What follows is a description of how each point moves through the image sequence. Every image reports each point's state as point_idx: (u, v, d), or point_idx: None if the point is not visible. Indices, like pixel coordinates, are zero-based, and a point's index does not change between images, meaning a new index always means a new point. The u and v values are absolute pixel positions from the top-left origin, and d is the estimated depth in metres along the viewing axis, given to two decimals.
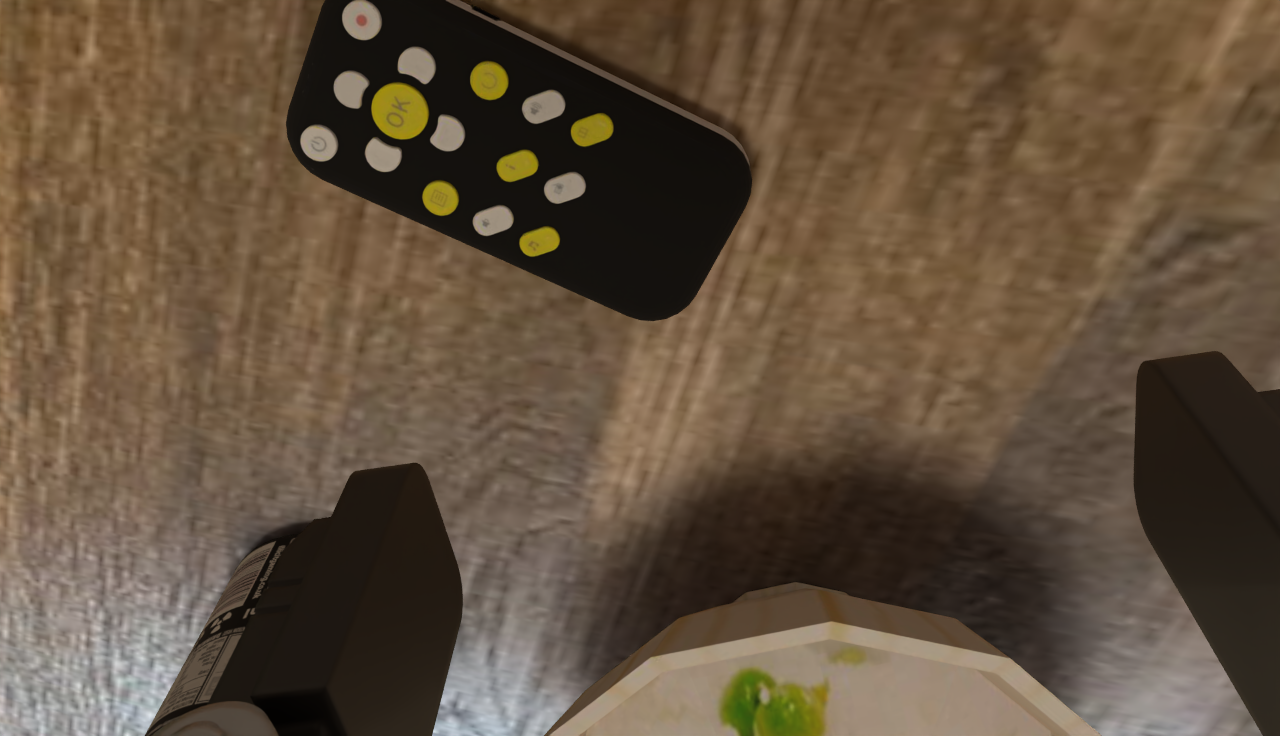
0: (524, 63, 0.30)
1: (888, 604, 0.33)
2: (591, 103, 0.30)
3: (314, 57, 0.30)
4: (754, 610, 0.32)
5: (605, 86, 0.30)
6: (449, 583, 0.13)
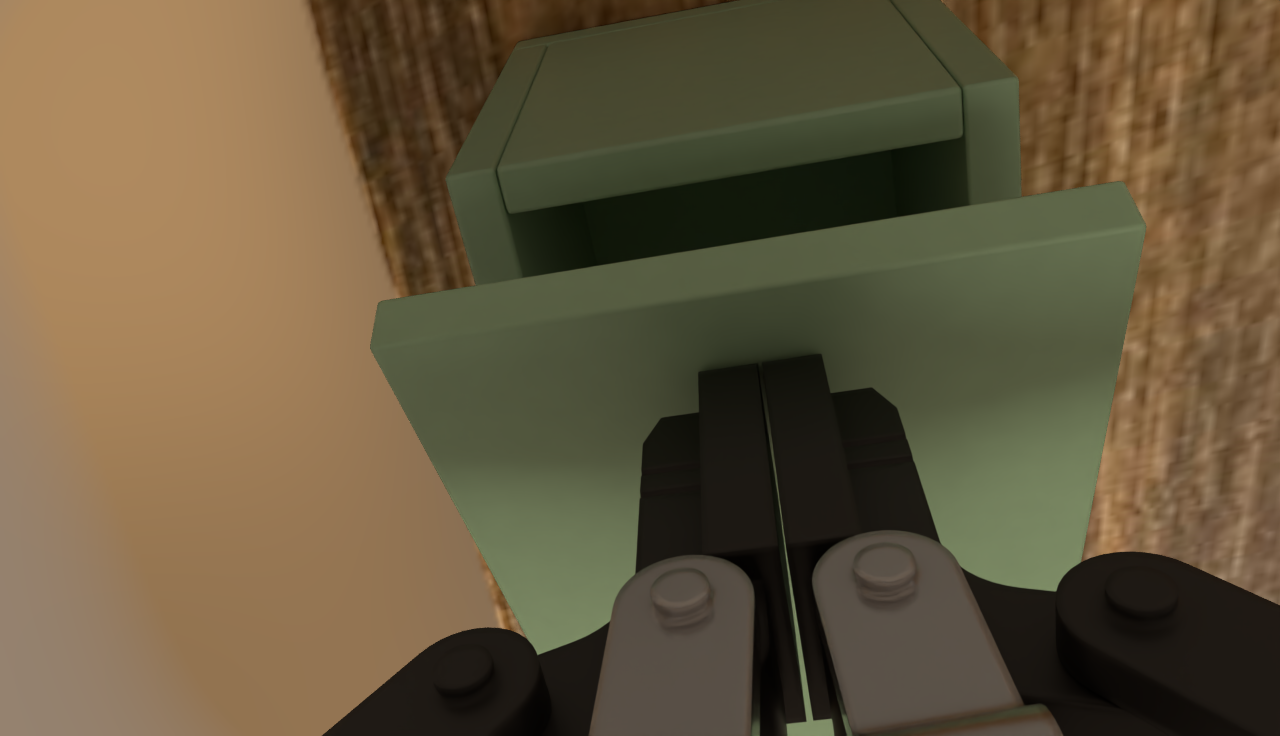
0: None
1: None
2: None
3: None
4: None
5: None
6: (775, 483, 0.14)
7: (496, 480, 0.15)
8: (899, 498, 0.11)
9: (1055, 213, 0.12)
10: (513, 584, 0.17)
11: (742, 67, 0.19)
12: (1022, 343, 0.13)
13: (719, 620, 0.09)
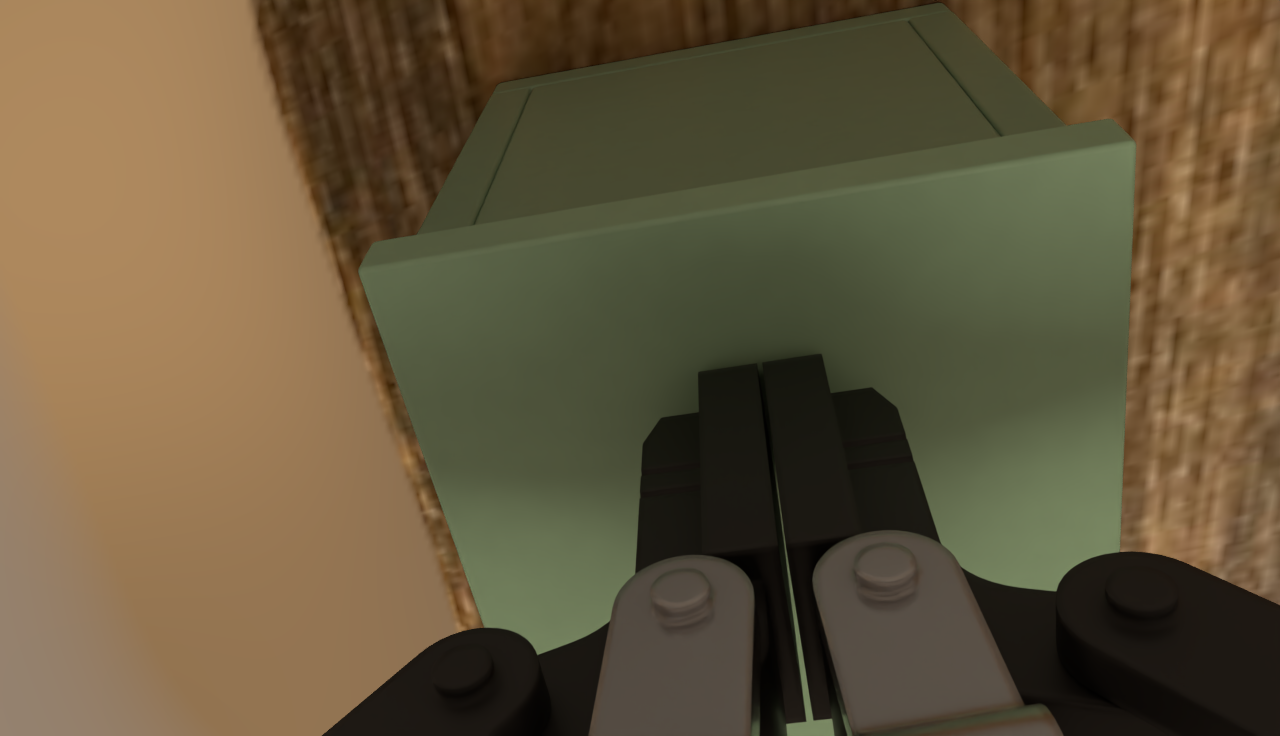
0: None
1: None
2: None
3: None
4: None
5: None
6: (775, 483, 0.14)
7: (479, 455, 0.14)
8: (900, 498, 0.11)
9: (1043, 141, 0.12)
10: (494, 608, 0.15)
11: (755, 127, 0.16)
12: (1022, 290, 0.13)
13: (719, 621, 0.09)
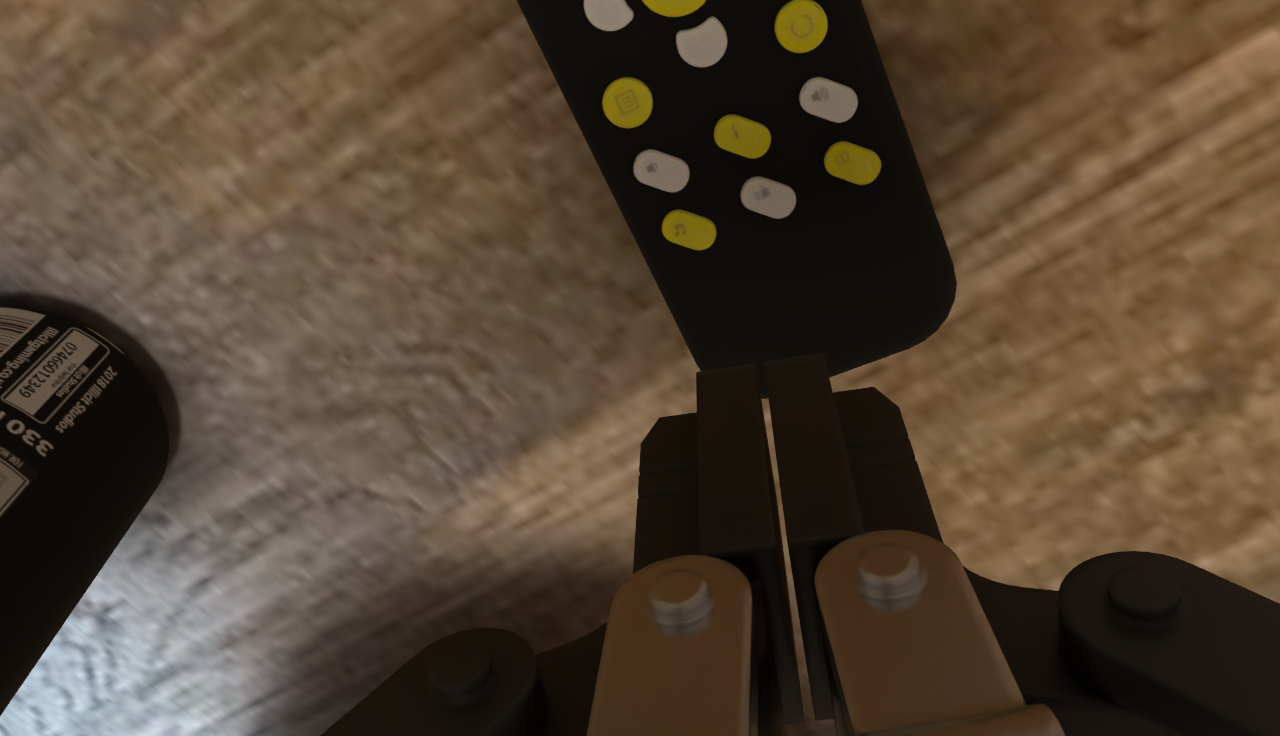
0: (851, 39, 0.22)
1: None
2: (876, 136, 0.23)
3: None
4: None
5: (900, 129, 0.23)
6: (773, 484, 0.14)
7: None
8: (901, 498, 0.11)
9: None
10: None
11: None
12: None
13: (717, 620, 0.09)
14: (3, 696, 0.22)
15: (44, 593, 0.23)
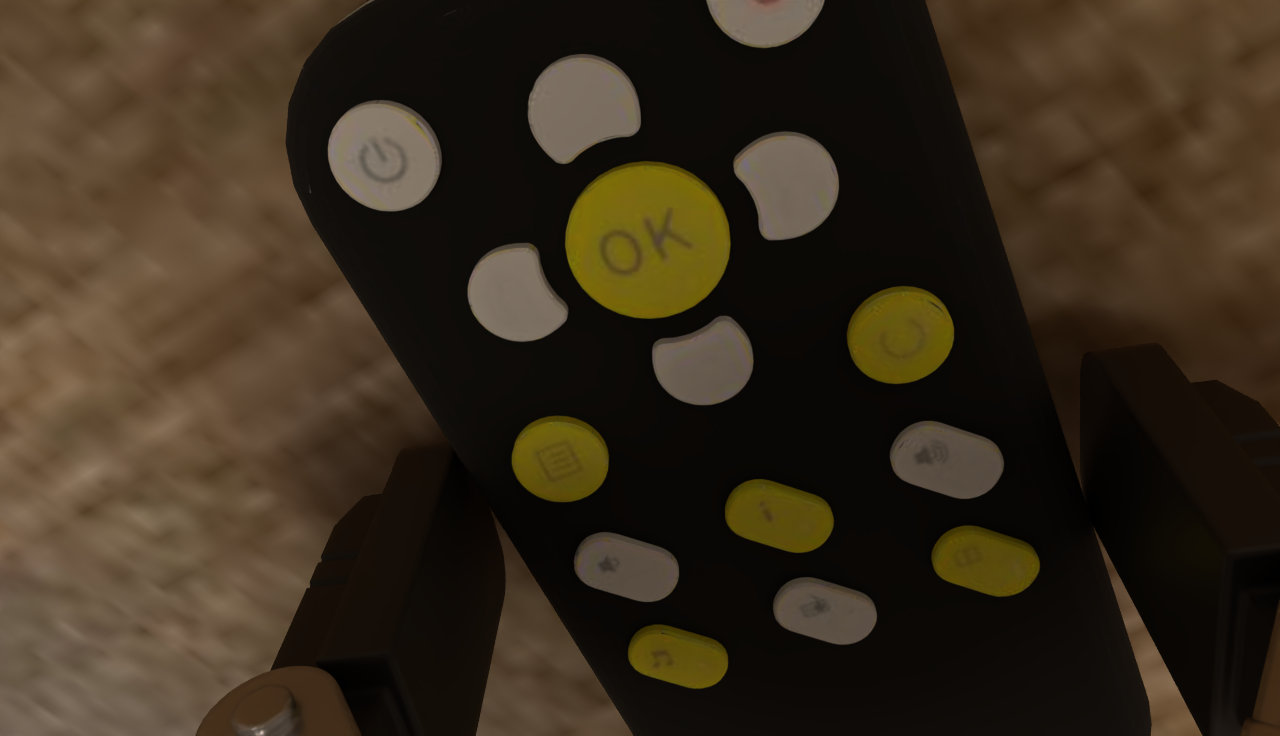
0: (996, 356, 0.11)
1: None
2: (1034, 518, 0.12)
3: None
4: None
5: (1076, 498, 0.12)
6: (493, 560, 0.13)
7: None
8: None
9: None
10: None
11: None
12: None
13: None
14: None
15: None
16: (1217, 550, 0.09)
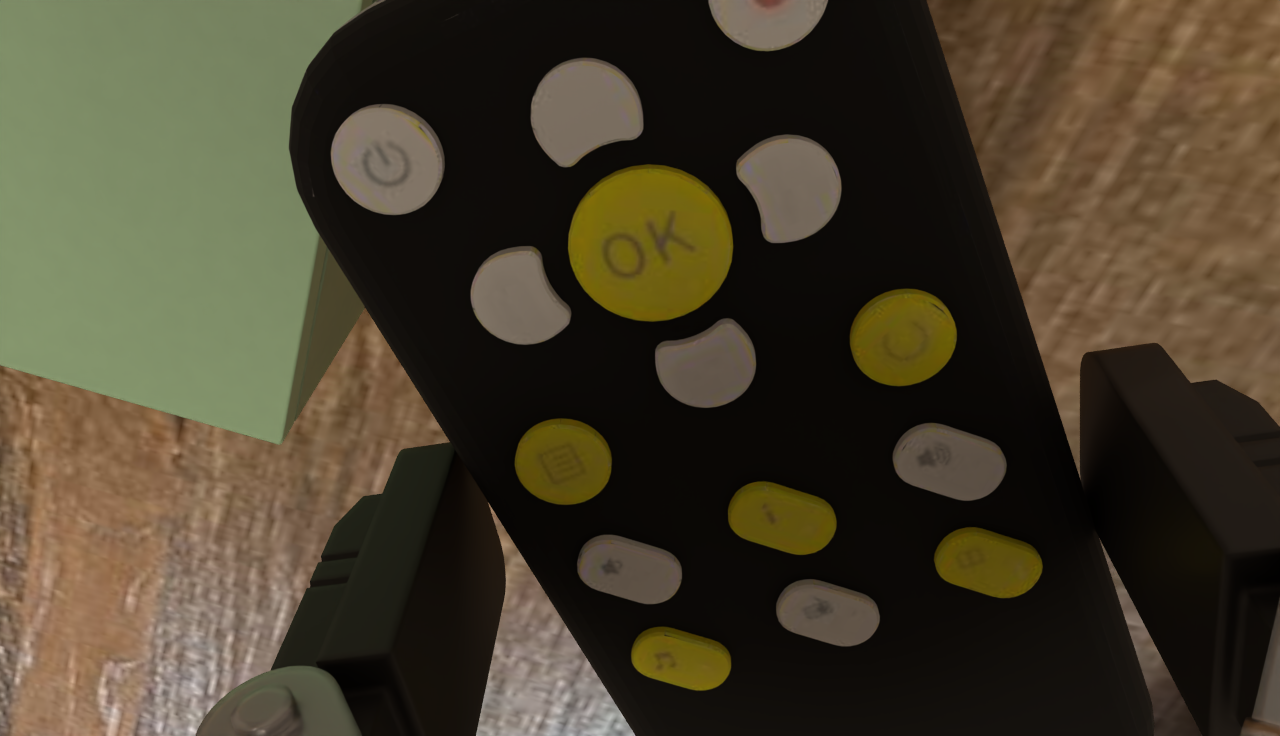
0: (999, 358, 0.11)
1: None
2: (1037, 520, 0.12)
3: None
4: None
5: (1078, 499, 0.12)
6: (493, 560, 0.13)
7: None
8: None
9: None
10: None
11: None
12: None
13: None
14: None
15: None
16: (1217, 550, 0.09)
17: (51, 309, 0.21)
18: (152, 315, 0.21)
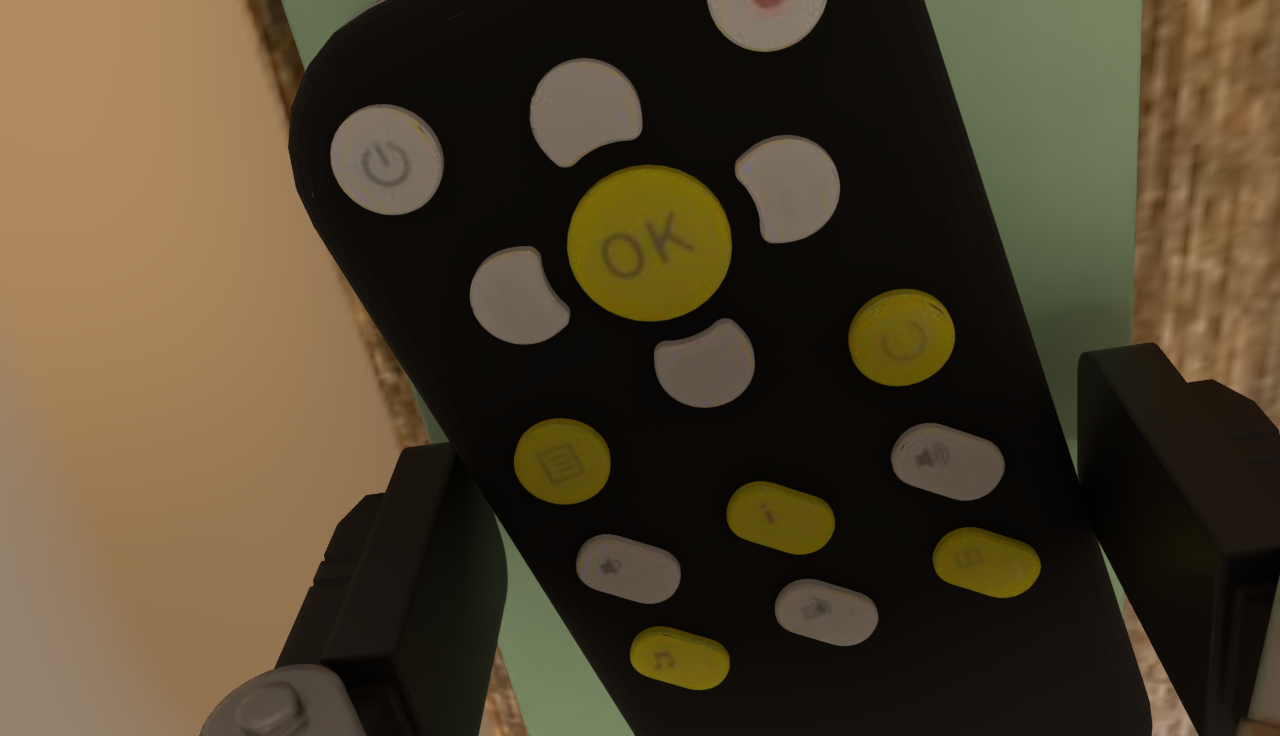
0: (997, 358, 0.11)
1: None
2: (1035, 520, 0.12)
3: None
4: None
5: (1076, 499, 0.12)
6: (496, 559, 0.13)
7: None
8: None
9: None
10: None
11: None
12: None
13: None
14: None
15: None
16: (1212, 549, 0.09)
17: None
18: None
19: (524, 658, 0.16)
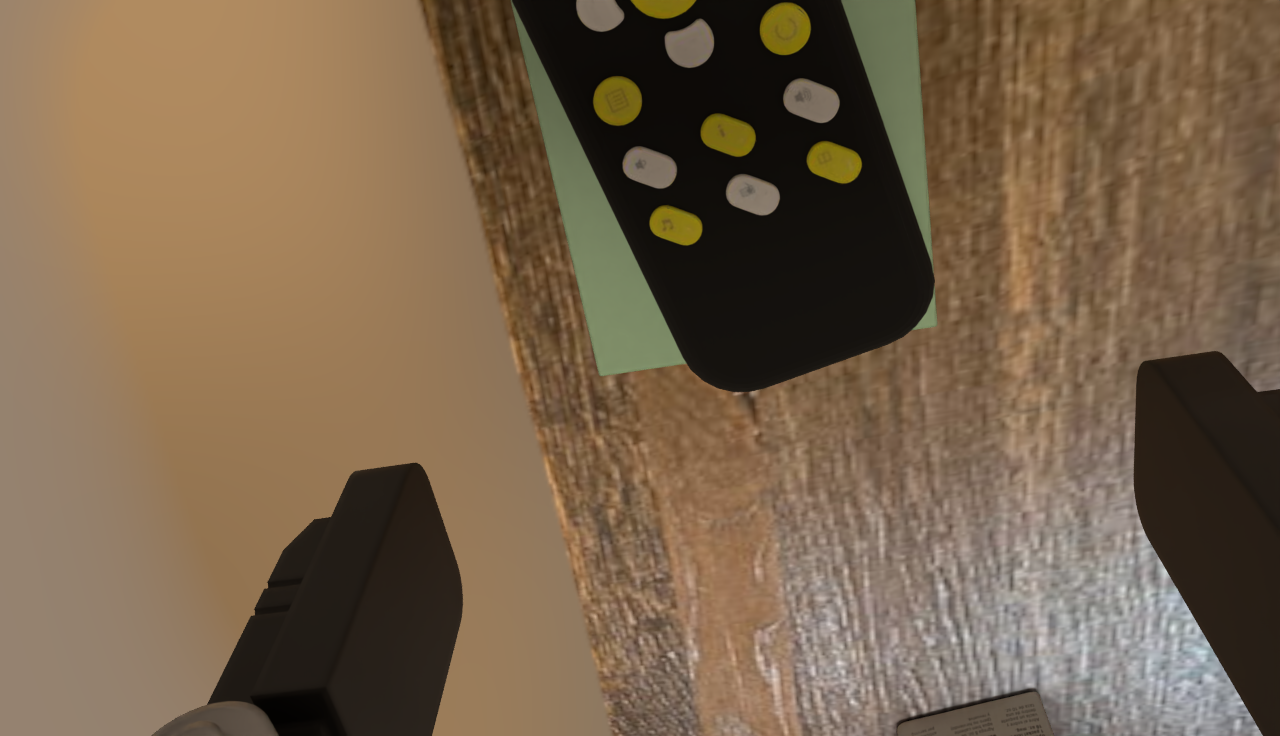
0: (833, 42, 0.23)
1: None
2: (857, 136, 0.24)
3: None
4: None
5: (880, 130, 0.24)
6: (449, 583, 0.13)
7: None
8: None
9: None
10: (538, 72, 0.25)
11: None
12: None
13: None
14: None
15: None
16: None
17: None
18: None
19: (588, 272, 0.27)
